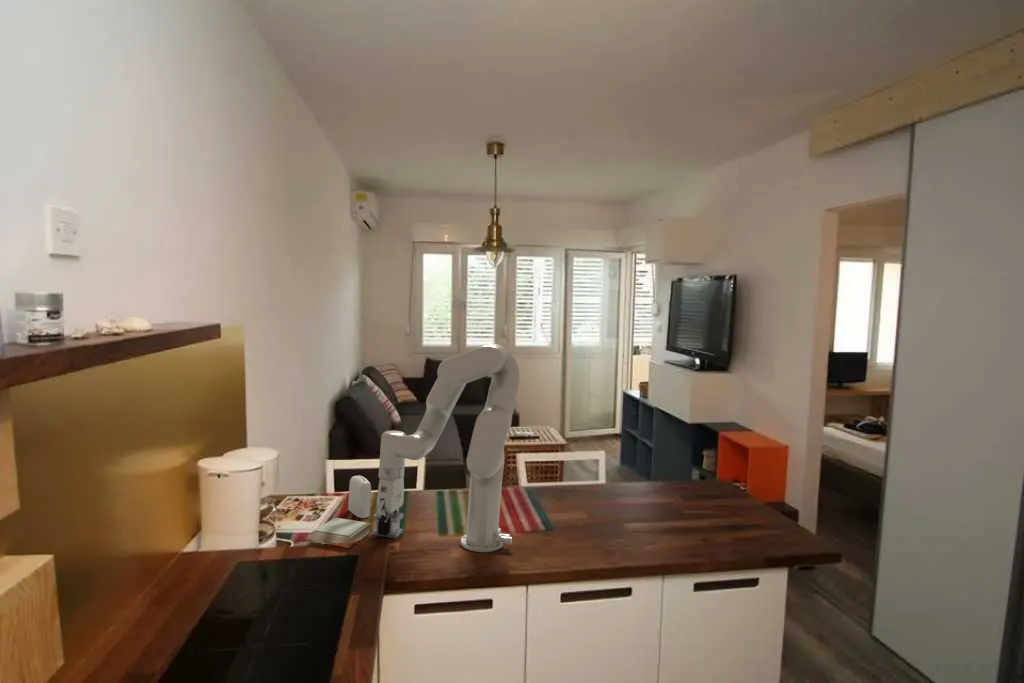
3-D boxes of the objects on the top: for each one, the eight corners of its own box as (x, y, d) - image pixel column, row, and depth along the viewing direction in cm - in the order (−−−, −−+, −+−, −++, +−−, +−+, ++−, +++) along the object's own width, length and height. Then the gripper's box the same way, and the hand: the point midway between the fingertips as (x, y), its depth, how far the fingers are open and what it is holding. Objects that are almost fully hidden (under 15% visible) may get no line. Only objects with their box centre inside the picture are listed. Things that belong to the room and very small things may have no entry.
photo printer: (346, 509, 179) (348, 473, 179) (358, 507, 182) (360, 472, 181) (358, 519, 171) (361, 481, 171) (371, 517, 174) (373, 480, 173)
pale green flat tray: (369, 533, 160) (369, 522, 160) (349, 548, 149) (350, 536, 149) (333, 527, 163) (334, 516, 163) (310, 542, 151) (311, 530, 151)
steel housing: (402, 532, 163) (403, 513, 163) (395, 538, 158) (396, 518, 158) (379, 529, 165) (380, 510, 164) (372, 535, 160) (373, 515, 160)
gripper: (390, 480, 152) (386, 543, 152) (413, 466, 169) (410, 522, 169) (366, 477, 153) (362, 539, 154) (392, 464, 170) (388, 519, 170)
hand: (387, 530), depth 161 cm, fingers open, 5 cm apart
